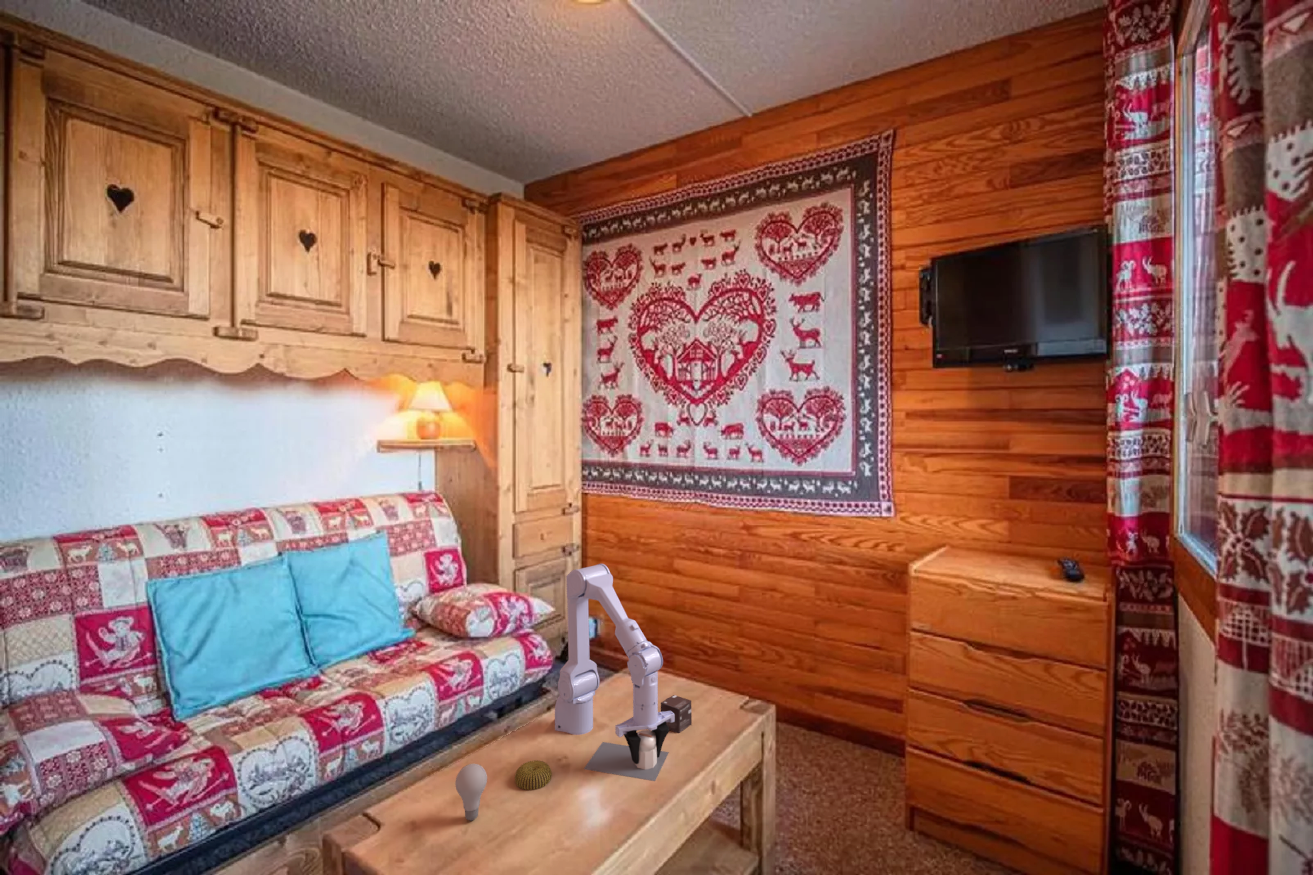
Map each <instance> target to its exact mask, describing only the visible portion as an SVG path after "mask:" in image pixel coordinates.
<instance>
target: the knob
mask: <svg viewBox="0 0 1313 875" xmlns="http://www.w3.org/2000/svg"><path fill="white" fill-rule="evenodd" d="M636 732H637V731H636ZM637 733H638V736H639V737H640V738H641V741H640V745H639V763H638V764H635V765H636V766H637V768H641V769H645V770H646V769H650V768H654V766H655V765H656V764H657V746H656V734H655V733H654V732H652V730H651V731H650V730H648V729H644V730H638V732H637Z"/></svg>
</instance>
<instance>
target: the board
mask: <svg viewBox="0 0 1313 875" xmlns="http://www.w3.org/2000/svg"><path fill="white" fill-rule="evenodd" d="M669 754H670V752H669V751H663V750H661V752H660V756H659V757H658V758H657V764H656V765H655V766H654V768H650V769H646V770H645V769H641V768H637V766H636V765H635V763H634V762H633V761H632V757H631V752H630V749H629V746H628V745H625V744H623V745H622V744H619V743H612V742H605V741H602V743H601V744H600V745H599V747H598V748H597V749H596V750H595V752H594V754H593V755H592V756H591V757H590V759H589V761H588V762H587V763H586V765H585V766H584V768H583V769H584V770H588V771H593V772H600V773H604V774H605V773H606V774H611V775H616V776H617V775H618V776H623V777H627V778H635V779H640V780H646V781H652V782H656V780H657V778H658V776H659V774H660V772H661V769H662V767H664V763H665V761H666V760H667V757H668V756H669Z"/></svg>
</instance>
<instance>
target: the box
mask: <svg viewBox="0 0 1313 875" xmlns="http://www.w3.org/2000/svg"><path fill="white" fill-rule="evenodd" d="M665 711H672V712H673V713H674V714H675V722H672V723H671V722H667V726H669V731H671V732H674V733H677V734H681V733H682V732H683V731H684V730H686V729H688V727H690V726H693V725H692V724H693V723H692V721H693V720H692V716H693V715H692V700H691V699H688V698H685V697H682V696H678V695H675V694H673V695H671V696H670V697H667V698H666V699H664V700H663V701H661V702H660V712H665Z"/></svg>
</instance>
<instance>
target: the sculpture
mask: <svg viewBox="0 0 1313 875" xmlns="http://www.w3.org/2000/svg"><path fill="white" fill-rule="evenodd" d="M551 779H552V769H551V767H550V765H549V764H548V763H546V762H544V761H543V760H530V761H527V762H524V763H523V764H521V765H520V766H519V767H518V768H517V770H516V771H515V775H514V782H515V784H516V786H517V787H518V788H520V789H522V790H525V791H529V790H530V791H532V790H534V791H535V790H538V789H542V788H543V787H546V786H547V785H548V784H549V783H550V781H551Z"/></svg>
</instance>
